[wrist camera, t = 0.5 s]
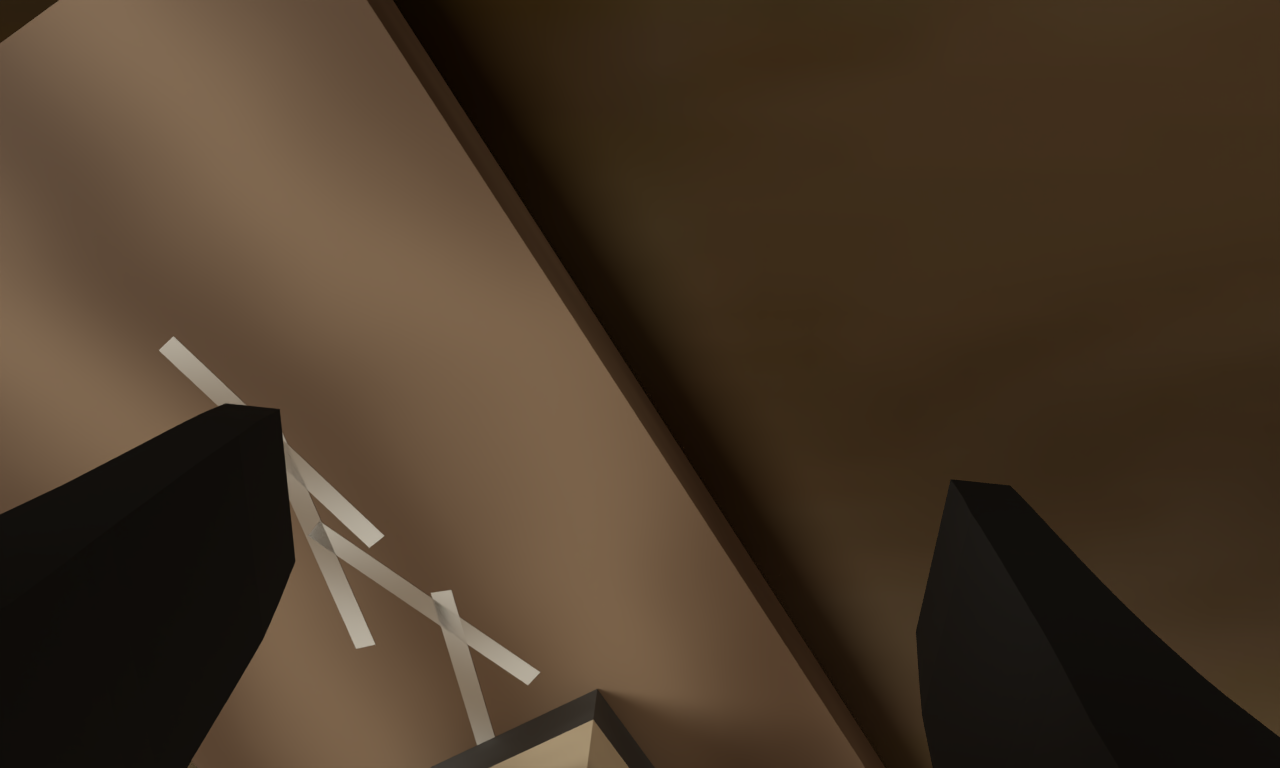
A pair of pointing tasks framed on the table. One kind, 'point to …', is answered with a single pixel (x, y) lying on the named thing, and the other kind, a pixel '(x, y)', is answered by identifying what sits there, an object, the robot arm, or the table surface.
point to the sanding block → (560, 741)
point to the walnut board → (372, 393)
